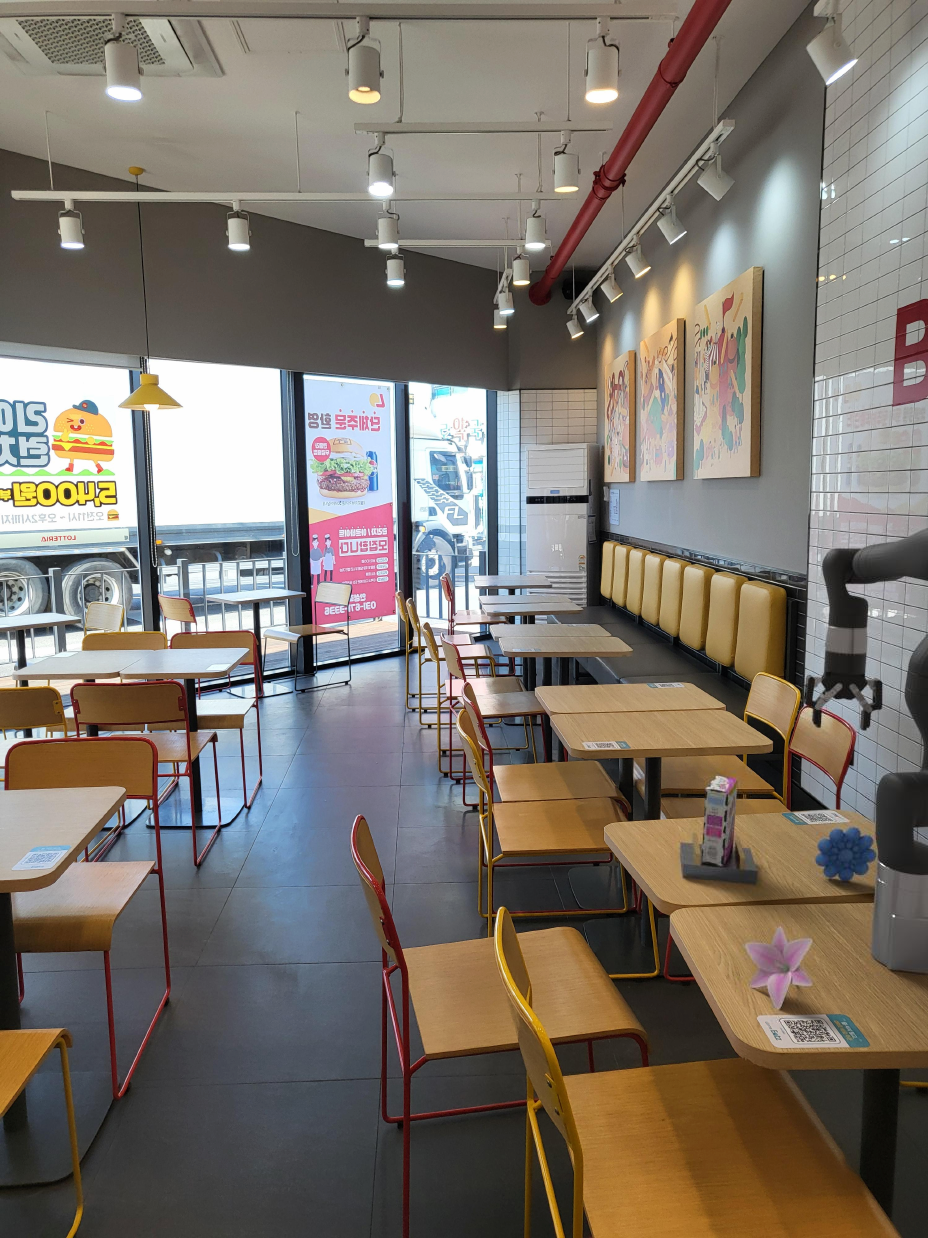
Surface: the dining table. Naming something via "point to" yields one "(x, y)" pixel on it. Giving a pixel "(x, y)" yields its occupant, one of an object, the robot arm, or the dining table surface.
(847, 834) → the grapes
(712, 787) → the candy bar box
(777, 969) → the lily
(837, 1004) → the dining table surface
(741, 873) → the dock
